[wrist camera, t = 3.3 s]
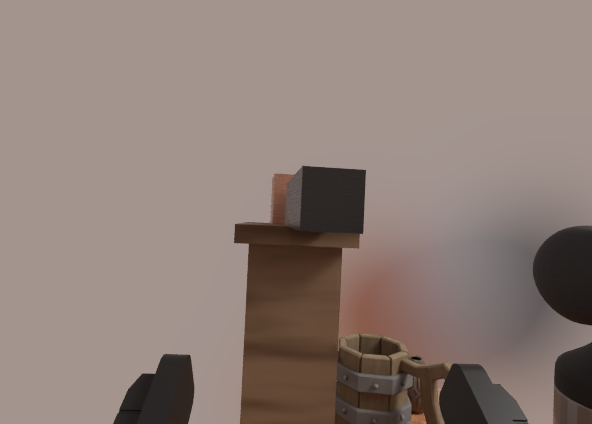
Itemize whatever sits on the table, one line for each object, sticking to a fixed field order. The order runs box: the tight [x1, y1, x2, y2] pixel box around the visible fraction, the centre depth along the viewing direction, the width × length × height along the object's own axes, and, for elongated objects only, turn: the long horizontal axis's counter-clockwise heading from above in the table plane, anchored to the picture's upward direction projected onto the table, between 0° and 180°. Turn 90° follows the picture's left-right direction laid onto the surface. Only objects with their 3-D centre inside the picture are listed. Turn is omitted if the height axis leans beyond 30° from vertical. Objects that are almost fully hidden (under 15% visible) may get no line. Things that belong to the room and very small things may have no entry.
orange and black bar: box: [270, 166, 366, 234], centre depth 30 cm, size 22×5×5 cm, turn 6°
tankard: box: [334, 334, 451, 424], centre depth 51 cm, size 20×13×15 cm, turn 38°
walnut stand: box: [234, 222, 360, 424], centre depth 34 cm, size 12×10×32 cm
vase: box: [407, 356, 425, 413], centre depth 63 cm, size 7×7×9 cm
